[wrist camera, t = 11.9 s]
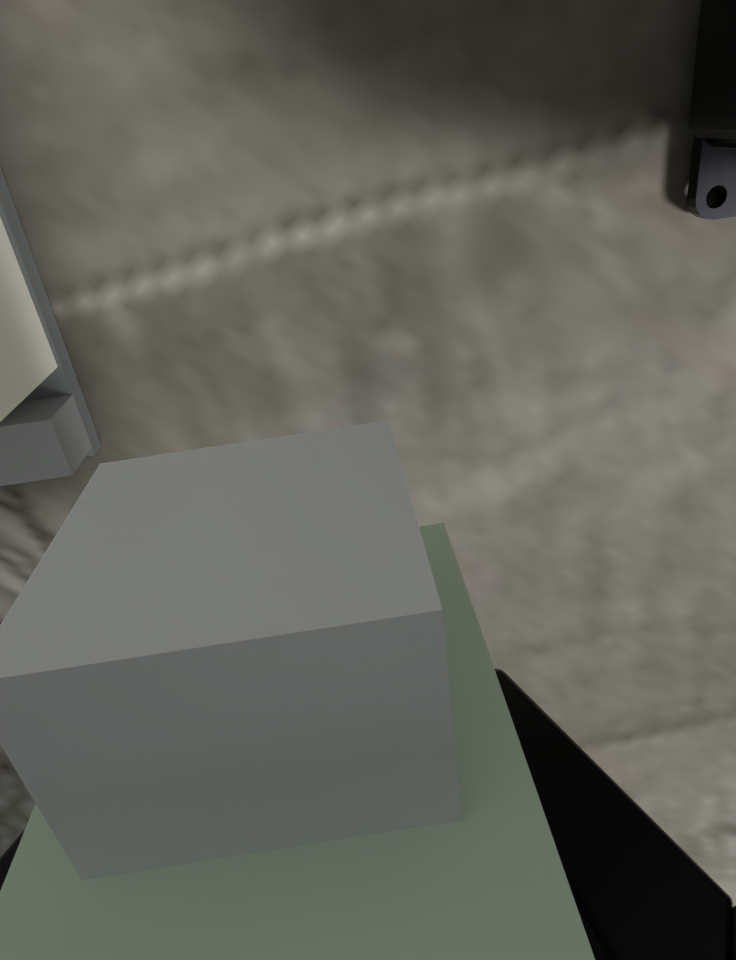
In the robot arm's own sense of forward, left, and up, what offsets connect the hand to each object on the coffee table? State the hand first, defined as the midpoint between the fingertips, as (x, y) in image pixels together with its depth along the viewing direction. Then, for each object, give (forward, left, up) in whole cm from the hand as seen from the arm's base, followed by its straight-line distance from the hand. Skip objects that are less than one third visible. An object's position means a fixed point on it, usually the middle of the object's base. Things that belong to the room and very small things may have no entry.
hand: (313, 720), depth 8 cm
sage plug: (0, +1, -1) cm, 2 cm away
